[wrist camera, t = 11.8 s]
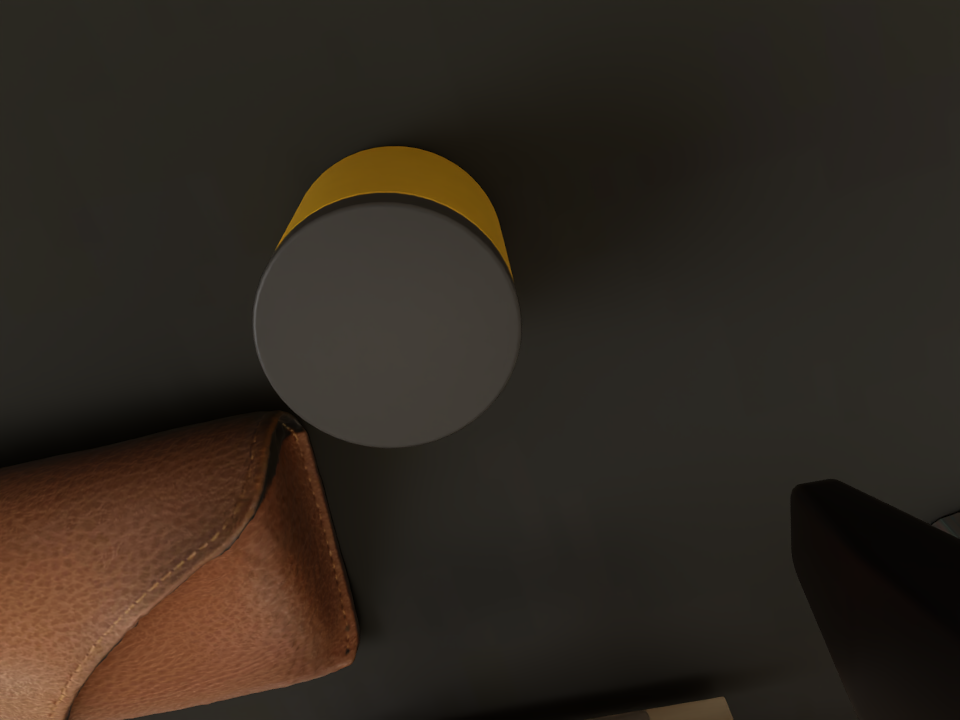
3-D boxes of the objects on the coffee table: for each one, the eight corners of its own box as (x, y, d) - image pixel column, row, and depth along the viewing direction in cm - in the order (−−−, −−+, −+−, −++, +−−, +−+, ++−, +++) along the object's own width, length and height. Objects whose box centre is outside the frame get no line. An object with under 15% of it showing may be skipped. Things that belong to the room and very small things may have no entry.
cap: (482, 126, 17) (498, 177, 13) (517, 327, 19) (540, 425, 15) (265, 168, 18) (214, 231, 13) (322, 363, 19) (293, 470, 15)
